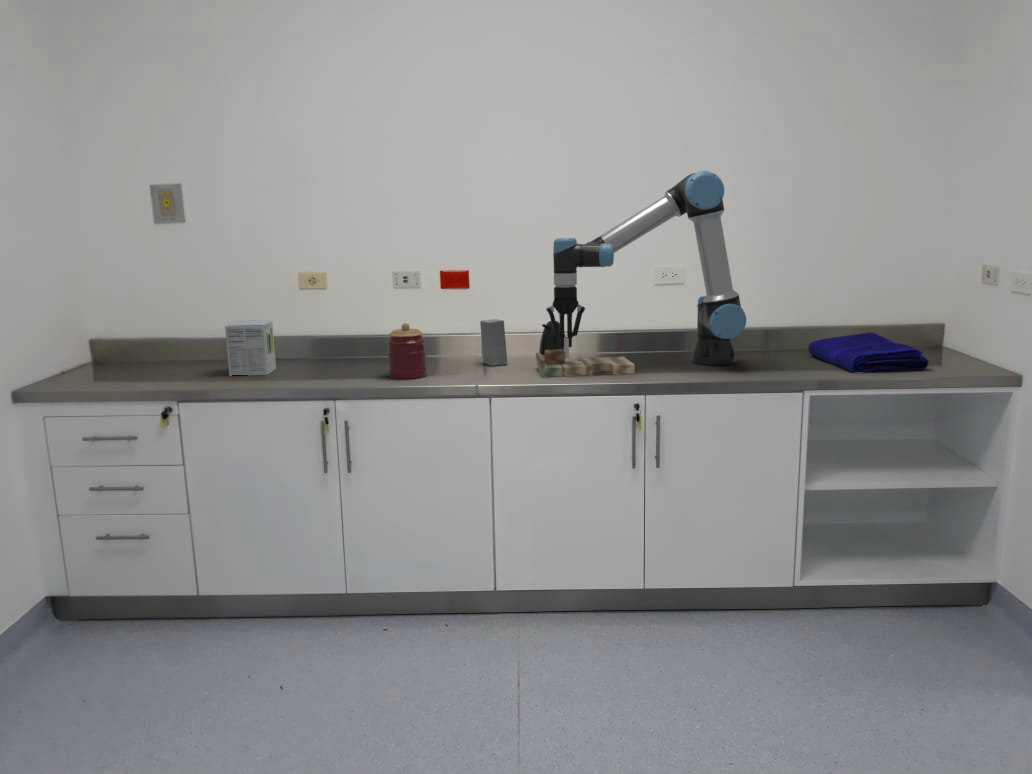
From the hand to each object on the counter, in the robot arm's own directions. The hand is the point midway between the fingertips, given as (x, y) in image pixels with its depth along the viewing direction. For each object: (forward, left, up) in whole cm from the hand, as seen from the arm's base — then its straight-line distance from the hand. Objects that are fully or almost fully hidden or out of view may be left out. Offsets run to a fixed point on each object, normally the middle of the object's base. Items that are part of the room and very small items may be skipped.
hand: (566, 357), depth 274 cm
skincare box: (+23, -20, -5) cm, 31 cm away
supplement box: (+107, -22, -5) cm, 109 cm away
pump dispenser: (+2, -18, -5) cm, 19 cm away
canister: (+53, -4, -5) cm, 53 cm away
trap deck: (-6, 0, -5) cm, 8 cm away
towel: (-102, +5, -6) cm, 102 cm away
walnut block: (+4, -1, -2) cm, 4 cm away
